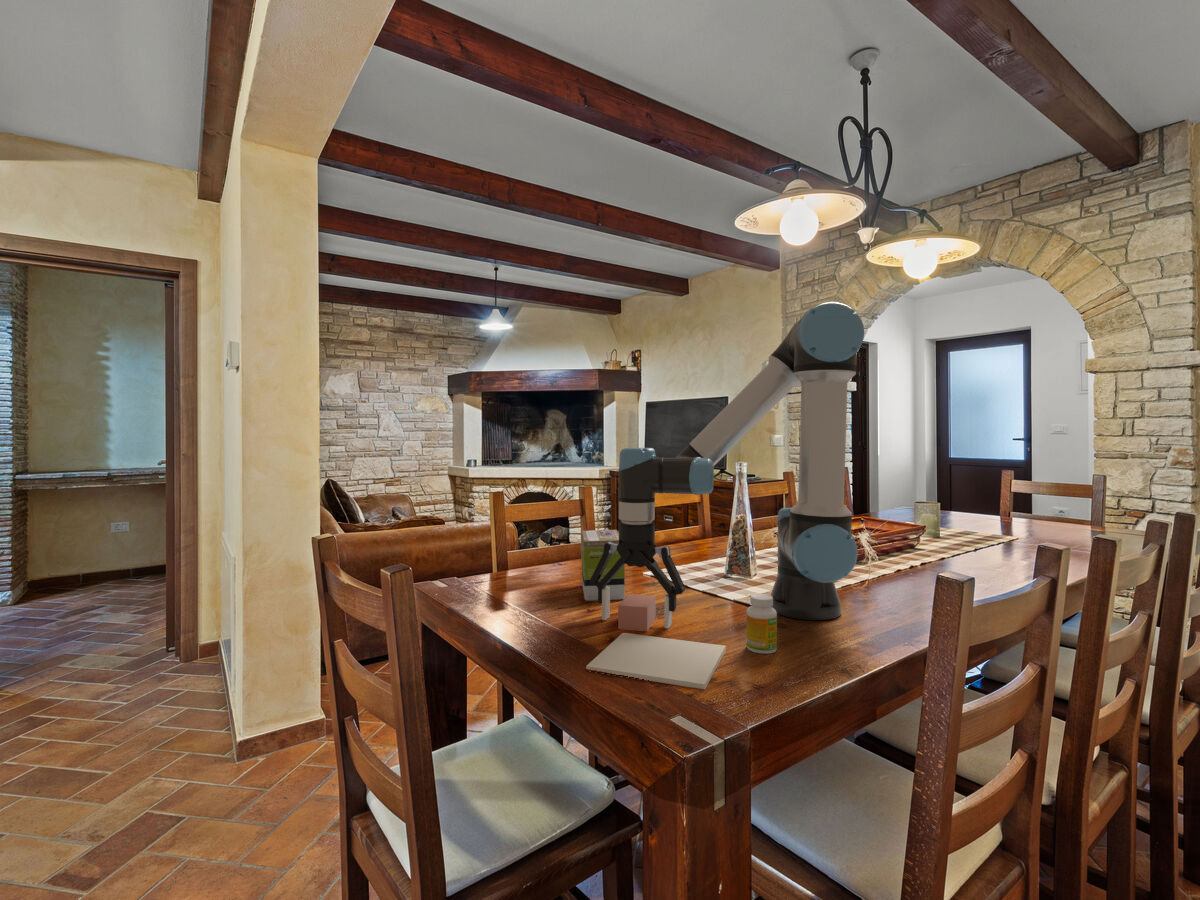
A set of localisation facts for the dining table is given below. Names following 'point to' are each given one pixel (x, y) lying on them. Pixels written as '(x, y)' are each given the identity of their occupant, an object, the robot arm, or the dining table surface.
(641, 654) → the mat
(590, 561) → the tea box
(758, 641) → the supplement bottle
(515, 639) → the dining table surface
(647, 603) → the reddish brown rectangular block
